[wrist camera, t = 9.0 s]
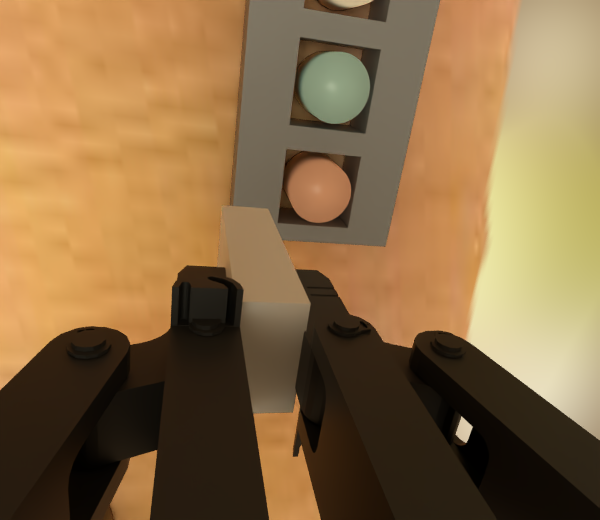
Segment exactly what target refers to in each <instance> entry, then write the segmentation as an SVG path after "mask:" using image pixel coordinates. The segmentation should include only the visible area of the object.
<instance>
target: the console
mask: <svg viewBox="0 0 600 520" xmlns="http://www.w3.org/2000/svg"><path fill="white" fill-rule="evenodd" d="M304 1H305V0H246V3H245V16H244V29H243V42H242V55H241V68H240V80H239V93H238V106H237V119H236V132H235V145H234V158H233V170H232V183H231V196H230V206H240V207H253V208H266V209H268V210H269V212H270V214H271V216H272V219H273V221H274V223H275V225H276V228H277V230H278V232H279V234H280V236H281V239H282V240H287V241H303V242H319V243H335V244H352V245H368V246H384V247H385V246H386V242H387V237H388V233H389V228H390V224H391V219H392V215H393V210H394V206H395V201H396V197H397V192H398V188H399V183H400V179H401V174H402V170H403V165H404V161H405V156H406V152H407V147H408V143H409V138H410V134H411V129H412V125H413V120H414V116H415V111H416V107H417V102H418V98H419V93H420V89H421V84H422V80H423V75H424V71H425V66H426V62H427V57H428V53H429V48H430V44H431V39H432V35H433V30H434V26H435V21H436V17H437V12H438V8H439V3H440V0H373V1H371V6H370V11H369V17H368V19H363V18H358V17H352V16H346V15H340V14H334V13H328V12H323V11H317V10H311V9H305V8H304ZM300 40H305V41H312V42H318V43H325V44H331V45H337V46H344V47H350V48H357V49H363V52H362V58H361V62H362V64H363V65H364V66H365V68H366V70H367V73H368V75H369V80H370V92H369V97H368V100H367V102H366V104H365V106H364V108H363V109H362V111H361V112H360V113H359V114H358V115H357V116H356V117H354V118H353V119H351V122H350V125H343V124H331V123H326V122H317V121H309V120H301V119H292V118H290V116H291V108H292V100H293V91H294V83H295V75H296V67H297V59H298V50H299V42H300ZM286 149H291V150H301V151H310V152H320V153H329V154H339V155H345V158H344V163H343V169H342V170H343V171H344V172H345V173H346V175H347V177H348V179H349V181H350V184H351V197H350V200H349V203H348V205H347V207H346V208H345V210H344V211H343V212H342V213H341V214H340V215H339V216H338V217H336V218H335V219H333V220H330V221H328V222H323V223H314V222H310V221H307V220H305V219H303V218H302V217H300V216H299V215H298V214H297V213H296V211H295V210H294V208H284V207H280V198H281V190H282V182H283V174H284V166H285V157H286Z"/></svg>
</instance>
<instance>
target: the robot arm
mask: <svg viewBox="0 0 600 520" xmlns="http://www.w3.org/2000/svg"><path fill="white" fill-rule="evenodd" d="M296 393H297V396H298V400H299V403H300V411H299V417H298V423H297V428H296V434H295V440H294V446H293V457H296V456H298V454H299V448H300V446H301V445H302V447H303V451H304V455H305V459H306V463H307V467H308V471H309V475H310V478H311V482H312V486H313V490H314V494H315V498H316V502H317V506H318V509H319V513H320V517H321V520H600V440H598V439H597V438H596V437H594V436H593V435H592V434H590V433H589V432H587V431H586V430H585V429H583V428H582V427H581V426H580V425H578V424H577V423H576V422H574V421H573V420H572V419H570V418H569V417H567V416H566V415H565V414H564V413H562V412H561V411H560V410H558V409H557V408H556V407H554V406H553V405H552V404H550V403H549V402H548V401H546V400H545V399H544V398H542V397H541V396H539V395H538V394H537V393H536V392H534V391H533V390H532V389H530V388H529V387H528V386H526V385H525V384H524V383H522V382H521V381H520V380H518V379H517V378H516V377H514V376H513V375H512V374H510V373H509V372H508V371H506V370H505V369H504V368H502V367H501V366H500V365H498V364H497V363H496V362H494V361H493V360H492V359H490V358H489V357H488V356H486V355H485V354H484V353H483V352H481V351H480V350H479V349H477V348H476V347H475V346H473V345H472V344H470V343H469V342H467V341H465V340H464V339H462V338H460V337H457V336H455V335H453V334H452V333H449V332H443V331H425V332H422V333H419V334H418V335H417V336H416V337H415V340H414V343H413V347H412V348H408V347H403V346H398V345H393V344H389V343H385V342H383V340H382V339H381V337H380V336H379V334H378V333H377V331H376V329H375V328H374V327H373V326H372V325H371V324H370V323H369V322H367V321H365V320H363V319H361V318H359V317H356V316H353V315H350V314H349V313H348V311H347V309H346V308H345V306H344V304H343V302H342V301H341V299H340V297H338V294H337V292H336V290H335V289H334V287H333V285H332V283H331V282H330V280H329V279H328V278H327V277H326V276H324V275H323V274H321V273H320V272H319V271H317V270H299V269H295V268H294V265H293V263H292V261H291V259H290V257H289V254H288V252H287V250H286V248H285V245H284V243H283V241H282V239H281V236H280V234H279V232H278V230H277V228H276V225H275V223H274V221H273V219H272V216H271V214H270V212H269V210H268V209H266V208H253V207H240V206H227V205H222V210H221V223H220V236H219V249H218V262H217V267H207V266H186V267H185V268H184V269H183V270H181V271H180V272H179V273H178V278H177V281H175V283H174V285H173V286H172V306H171V328H170V329H169V330H168V332H167V333H165V334H164V335H162V336H161V337H159V338H156V339H154V340H151V341H148V342H143V343H139V344H133V345H130V342H129V340H128V338H127V336H126V335H124V334H123V333H121V332H120V331H118V330H114V329H110V328H107V327H95V326H91V327H85V328H84V327H82V328H77V329H74V330H71V331H68V332H65V333H62V334H60V335H59V336H57V337H56V338H54V339H53V340H52V341H50V342H49V343H48V344H47V345H46V346H45V347H44V348H43V349H42V350H41V351H40V352H39V353H38V354H37V355H36V356H35V357H34V358H33V359H32V360H31V361H30V362H29V363H28V364H27V365H26V366H25V367H24V368H23V369H22V370H21V371H20V372H19V373H18V374H16V375H15V376H14V377H13V378H12V379H11V380H10V381H9V382H8V383H7V384H6V385H5V386H4V387H3V388H2V389H1V390H0V520H113V516H112V512H111V510H110V507H109V505H110V503H111V501H112V499H113V497H114V495H115V493H116V491H117V489H118V487H119V485H120V483H121V480H122V478H123V476H124V474H125V472H126V470H127V468H128V464H129V460H130V458H131V457H134V456H138V455H141V454H144V453H148V452H151V451H154V450H157V459H156V468H155V478H154V487H153V496H152V506H151V515H150V520H269V516H268V509H267V502H266V496H265V489H264V483H263V476H262V469H261V463H260V456H259V450H258V443H257V436H256V430H255V423H254V416H253V413H287V412H293V409H294V403H295V397H296ZM461 416H462V417H463V418H464V419H465V420H466V421H467V422H468V423H470V424H471V425H472V426H473V428H472V431H471V434H470V436H469V439H468V441H467V443H465V442H463V441H462V440H460V439H459V438H458V437H457V436H456V435H455V434H456V431H457V428H458V425H459V422H460V419H461Z"/></svg>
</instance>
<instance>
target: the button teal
mask: <svg viewBox="0 0 600 520" xmlns="http://www.w3.org/2000/svg"><path fill="white" fill-rule="evenodd" d="M294 91H295V95H296V98H297V100H298V102H299V104H300V105H301V106H302V107H303V108H304V109H305V110H306V111H308V112H309V113H311V114H312V115H314V116H315V117H317V118H318V119H320V120H322V121H324V122H326V123H331V124H340V123H345V122H347V121H349V120H351V119H353V118H354V117H356V116H357V115H358V114H359V113H360V112H361V111H362V109H363V108H364V106H365V104H366V102H367V100H368V97H369V92H370V80H369V75H368V73H367V70H366V68H365V66H364V65H363V64H362V62H361V61H360V60H359V59H357V58H356V57H355V56H353V55H351V54H349V53H345V52H334V51H321V52H316V53H314V54H312V55H310V56H308V57H307V58H306V59H305V60H304V61H303V62H302V63H301V64H300V66H299V67H298V69H297V71H296V75H295V83H294Z"/></svg>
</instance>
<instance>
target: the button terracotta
mask: <svg viewBox="0 0 600 520" xmlns="http://www.w3.org/2000/svg"><path fill="white" fill-rule="evenodd" d="M282 184H283V188H284V191H285V193H286V195H287V197H288V198H289V200H290V202H291V204H292V206H293V208H294V210H295V211H296V213H297V214H298V215H299V216H300V217H302V218H303V219H305V220H307V221H310V222H314V223H323V222H328V221H330V220H333V219H335V218H336V217H338V216H339V215H340V214H341V213H342V212H343V211H344V210H345V208H346V207H347V205H348V203H349V200H350V197H351V184H350V181H349V179H348V177H347V175H346V173H345V172H344V171H343V170H342V169H341V168H340V167H339V166H338V165H336V164H335V163H334V162H333V161H332V160H331V159H330V158H329V157H328V156H326V155H325V154H323V153H320V152H310V151H305V152H302V153H299V154H297V155H296V156H294V157H293V158H292V159H291V160H290V161H289V162H288V164H287V165H286V167H285V169H284V174H283V182H282Z"/></svg>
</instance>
